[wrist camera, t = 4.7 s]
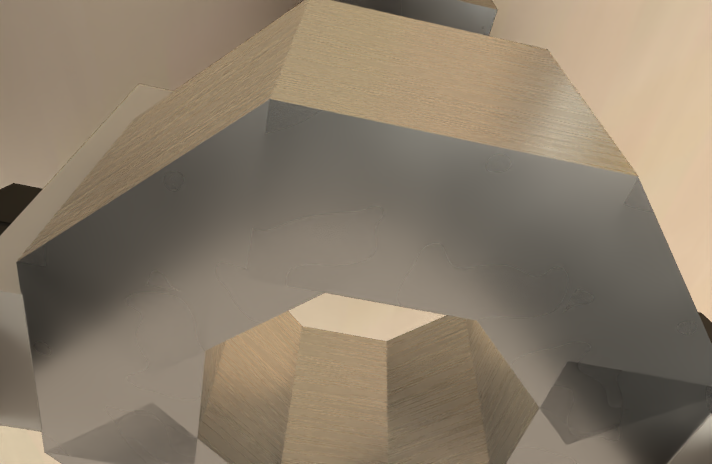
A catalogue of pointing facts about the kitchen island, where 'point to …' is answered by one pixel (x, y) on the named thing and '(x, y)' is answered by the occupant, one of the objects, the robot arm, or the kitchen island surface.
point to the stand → (439, 12)
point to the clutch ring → (364, 266)
